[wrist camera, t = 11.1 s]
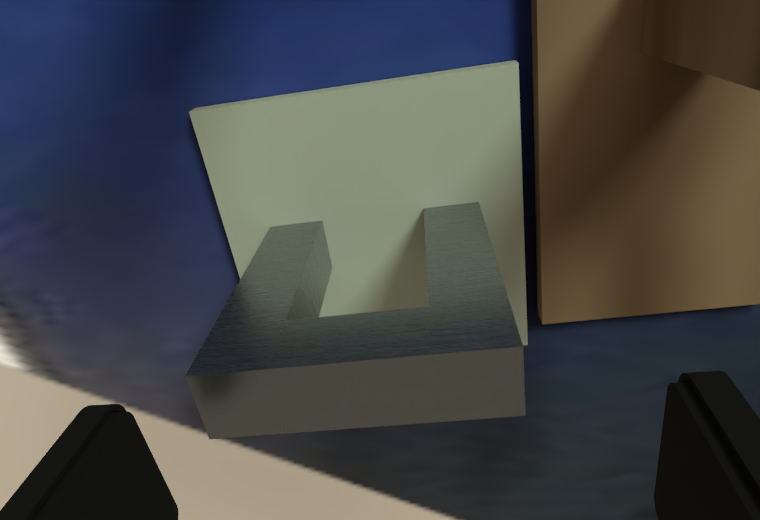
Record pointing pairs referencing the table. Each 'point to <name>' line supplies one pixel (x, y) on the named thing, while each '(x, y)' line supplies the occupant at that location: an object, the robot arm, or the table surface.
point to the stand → (646, 156)
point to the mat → (374, 176)
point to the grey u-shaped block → (361, 341)
